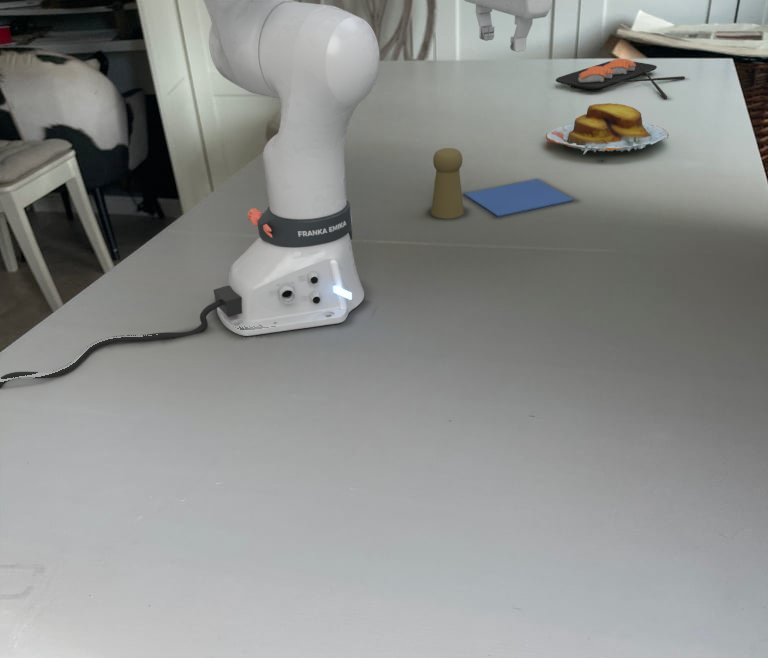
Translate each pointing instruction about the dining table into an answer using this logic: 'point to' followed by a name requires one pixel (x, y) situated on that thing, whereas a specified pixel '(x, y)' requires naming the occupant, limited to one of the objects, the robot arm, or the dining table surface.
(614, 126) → the food on plate
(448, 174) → the brown peg doll
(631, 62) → the sushi plate
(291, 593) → the dining table surface
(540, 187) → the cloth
